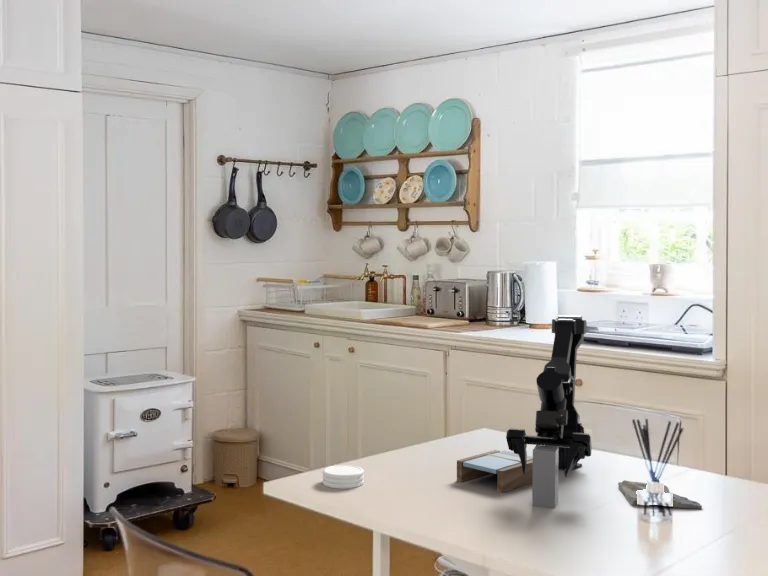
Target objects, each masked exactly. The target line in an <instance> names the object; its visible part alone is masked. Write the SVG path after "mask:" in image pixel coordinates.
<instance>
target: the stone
mask: <svg viewBox="0 0 768 576" xmlns="http://www.w3.org/2000/svg"><path fill="white" fill-rule="evenodd" d="M532 457H533V477H532V483H531V484H532V486H531V489H532V490H531V494H532V495H531V496H532V498H531V499H532V500H531V502H532V503H531V504H532V506H534V507H541V508H542V507H543V508H552V509H553V508H554V509H555V508H556V506H557V504H558V502H559V468H558V458H559V447H557V446H545V445H534V448H533V449H532Z"/></svg>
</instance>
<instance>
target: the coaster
mask: <svg viewBox="0 0 768 576" xmlns="http://www.w3.org/2000/svg"><path fill="white" fill-rule="evenodd" d="M364 473H365V470H364V469H363V468H362V467H360V466H356V465H350V464H337V465H332V466H327V467H325V468H324V469H322V477H321V478H322V485H324V486H325V487H327V488H332V489H338V490H344V489H345V490H348V489H355V488H358V487H361V486H362V485H364V483H365V480H364V478H365V476H364Z"/></svg>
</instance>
